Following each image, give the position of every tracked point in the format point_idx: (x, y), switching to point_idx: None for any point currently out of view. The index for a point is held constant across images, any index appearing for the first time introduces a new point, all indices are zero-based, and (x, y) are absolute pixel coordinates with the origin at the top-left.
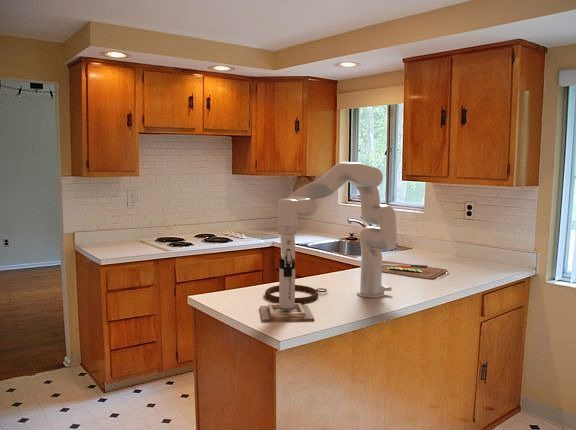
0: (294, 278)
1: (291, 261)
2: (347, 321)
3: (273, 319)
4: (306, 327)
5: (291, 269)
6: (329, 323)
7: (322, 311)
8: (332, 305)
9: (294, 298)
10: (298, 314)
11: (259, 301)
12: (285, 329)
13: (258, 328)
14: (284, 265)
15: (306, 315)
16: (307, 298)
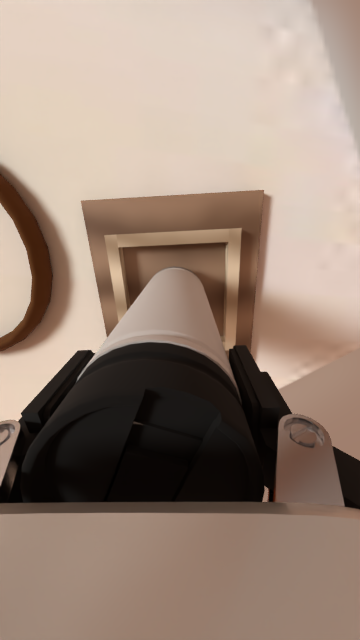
0: (191, 308)
1: (343, 504)
2: (292, 4)
3: (251, 336)
4: (325, 231)
5: (267, 389)
6: (301, 122)
7: (136, 134)
8: (33, 57)
9: (185, 275)
10: (239, 255)
11: (44, 365)
12: (326, 303)
13: (298, 372)
14: (270, 494)
15: (223, 220)
16: (6, 192)
